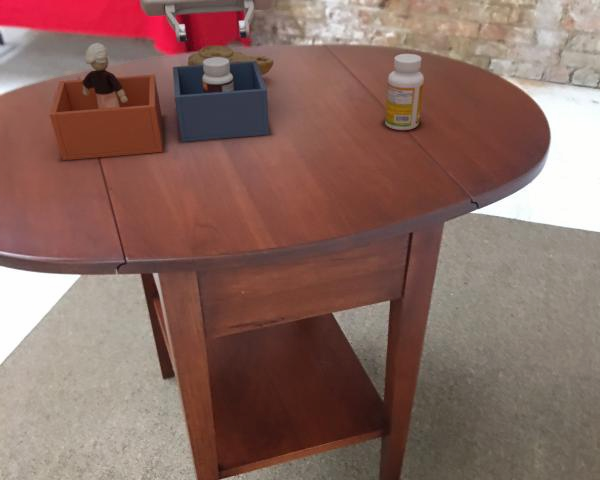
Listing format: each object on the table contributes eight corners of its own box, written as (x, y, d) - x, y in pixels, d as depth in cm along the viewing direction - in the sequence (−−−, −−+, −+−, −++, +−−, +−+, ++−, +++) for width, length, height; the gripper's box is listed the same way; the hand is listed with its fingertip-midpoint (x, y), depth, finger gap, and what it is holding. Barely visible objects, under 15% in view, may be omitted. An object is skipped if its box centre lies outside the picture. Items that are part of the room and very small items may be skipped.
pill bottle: (200, 118, 102) (193, 62, 96) (220, 109, 104) (214, 54, 99) (222, 125, 100) (216, 68, 94) (242, 116, 102) (237, 59, 96)
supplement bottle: (403, 114, 103) (410, 49, 96) (425, 125, 100) (434, 58, 93) (377, 122, 101) (382, 56, 94) (399, 134, 98) (405, 66, 91)
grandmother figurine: (142, 130, 99) (125, 40, 90) (132, 140, 96) (114, 49, 87) (96, 127, 100) (75, 38, 91) (86, 136, 98) (62, 46, 89)
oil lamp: (276, 84, 114) (275, 53, 111) (198, 94, 111) (194, 64, 107) (260, 65, 121) (258, 36, 118) (186, 75, 118) (182, 45, 115)
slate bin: (181, 142, 97) (174, 97, 92) (179, 108, 107) (172, 66, 102) (269, 134, 98) (266, 90, 94) (259, 102, 108) (256, 60, 103)
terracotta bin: (62, 160, 93) (49, 114, 89) (71, 124, 103) (59, 81, 98) (162, 152, 95) (154, 106, 90) (161, 117, 104) (154, 74, 100)
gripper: (127, -67, 90) (139, 29, 90) (269, -74, 92) (281, 20, 93) (134, -37, 97) (145, 54, 97) (267, -43, 99) (278, 45, 99)
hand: (213, 37), depth 95 cm, fingers open, 8 cm apart
